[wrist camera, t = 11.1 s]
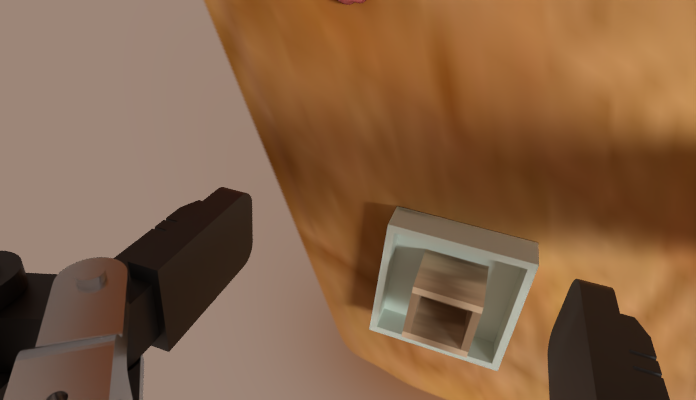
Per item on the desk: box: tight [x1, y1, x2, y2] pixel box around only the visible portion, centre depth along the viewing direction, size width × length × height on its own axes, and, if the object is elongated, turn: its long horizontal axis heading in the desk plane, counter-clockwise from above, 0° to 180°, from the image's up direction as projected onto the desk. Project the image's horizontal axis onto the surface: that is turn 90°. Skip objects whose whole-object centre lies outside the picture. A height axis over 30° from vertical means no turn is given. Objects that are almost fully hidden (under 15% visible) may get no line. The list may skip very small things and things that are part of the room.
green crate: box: [369, 206, 539, 371], centre depth 46 cm, size 13×13×4 cm
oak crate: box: [402, 249, 489, 358], centre depth 44 cm, size 6×6×6 cm
